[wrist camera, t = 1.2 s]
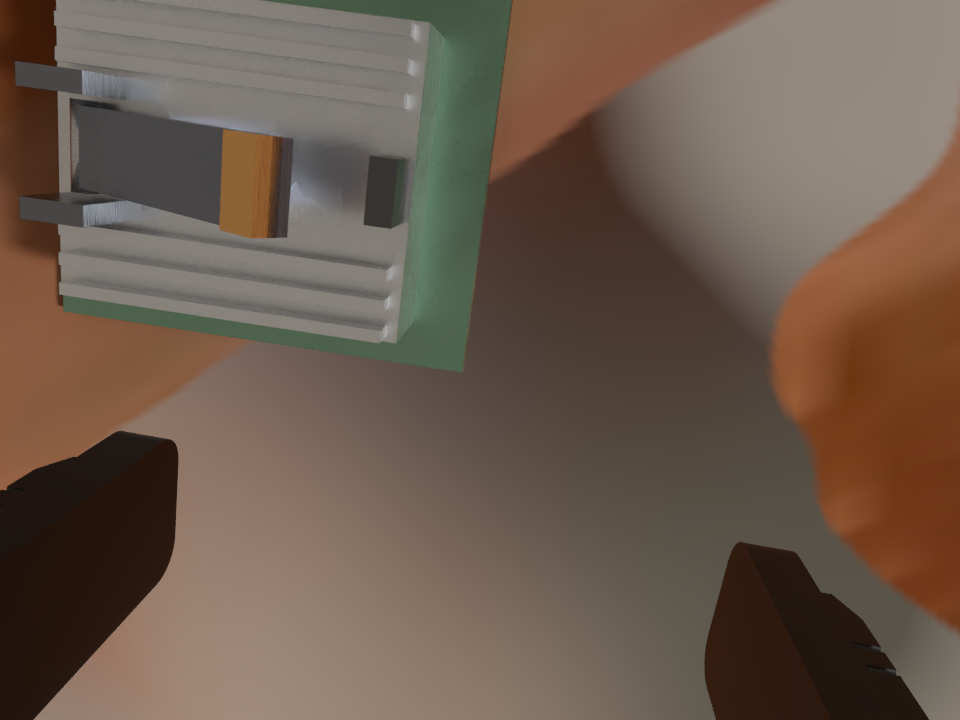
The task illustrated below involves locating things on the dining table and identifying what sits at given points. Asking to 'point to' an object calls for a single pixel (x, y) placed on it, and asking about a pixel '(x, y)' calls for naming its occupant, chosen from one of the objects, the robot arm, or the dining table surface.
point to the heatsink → (315, 167)
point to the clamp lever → (183, 168)
